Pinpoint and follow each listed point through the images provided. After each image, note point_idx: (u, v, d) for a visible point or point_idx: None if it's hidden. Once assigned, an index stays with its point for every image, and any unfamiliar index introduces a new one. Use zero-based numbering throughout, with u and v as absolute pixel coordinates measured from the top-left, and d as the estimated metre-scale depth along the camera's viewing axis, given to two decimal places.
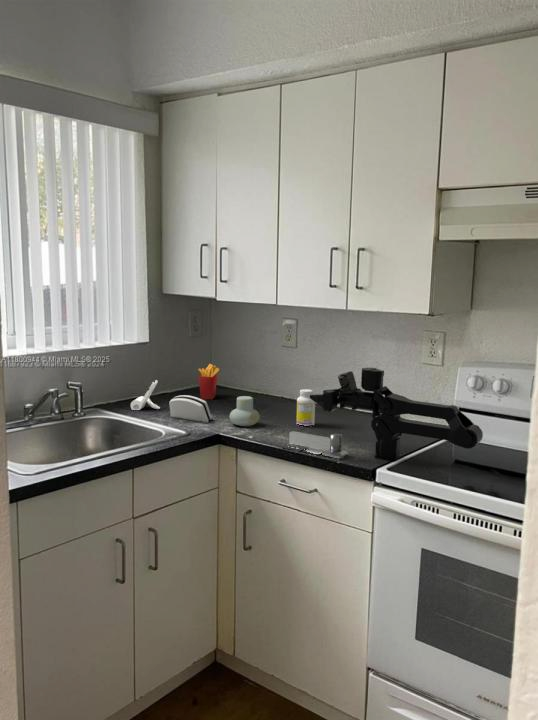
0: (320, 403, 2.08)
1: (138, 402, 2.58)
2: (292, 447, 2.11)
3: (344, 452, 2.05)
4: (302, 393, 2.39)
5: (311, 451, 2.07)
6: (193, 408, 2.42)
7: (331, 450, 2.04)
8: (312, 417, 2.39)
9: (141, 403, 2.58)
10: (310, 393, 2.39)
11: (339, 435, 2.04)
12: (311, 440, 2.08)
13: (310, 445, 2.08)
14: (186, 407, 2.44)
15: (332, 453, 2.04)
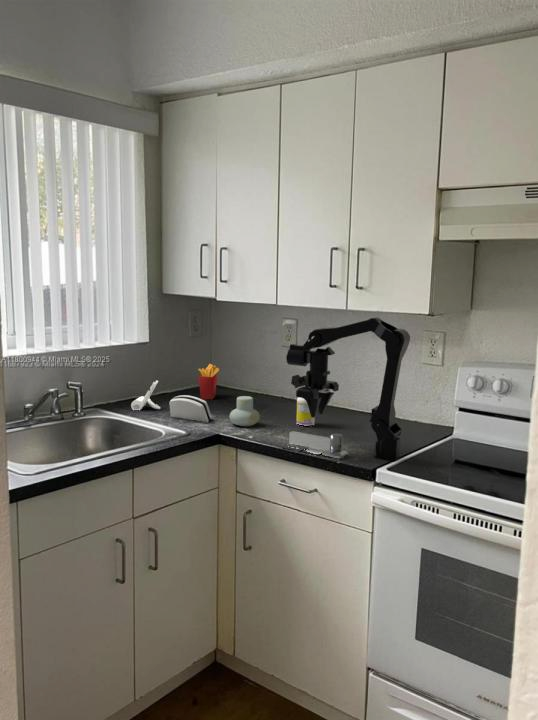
0: (315, 404, 2.09)
1: (139, 402, 2.58)
2: (292, 447, 2.11)
3: (344, 452, 2.05)
4: None
5: (311, 451, 2.07)
6: (194, 408, 2.42)
7: (331, 450, 2.04)
8: (312, 417, 2.39)
9: (142, 403, 2.58)
10: None
11: (339, 435, 2.04)
12: (311, 440, 2.08)
13: (310, 445, 2.08)
14: (186, 407, 2.44)
15: (332, 453, 2.04)
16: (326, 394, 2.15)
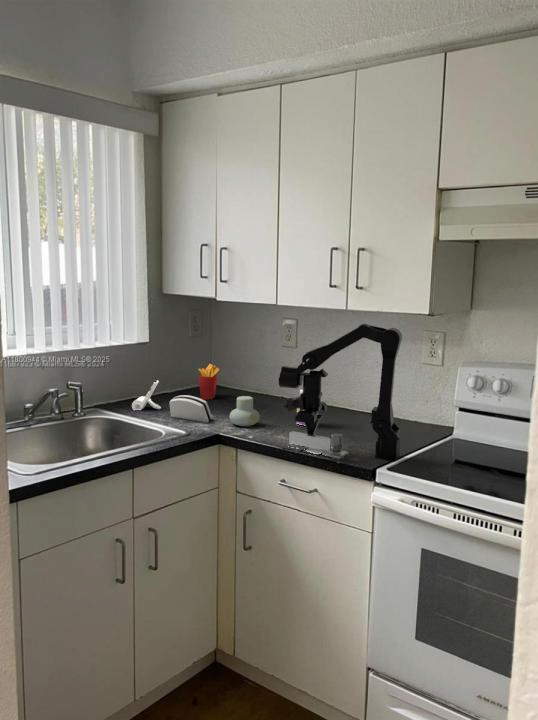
0: (313, 425, 2.09)
1: (139, 402, 2.58)
2: (292, 447, 2.11)
3: (344, 452, 2.05)
4: None
5: (311, 451, 2.07)
6: (194, 408, 2.42)
7: (331, 450, 2.04)
8: None
9: (142, 403, 2.58)
10: None
11: (339, 435, 2.04)
12: (311, 440, 2.08)
13: (310, 445, 2.08)
14: (186, 407, 2.44)
15: (332, 453, 2.04)
16: None
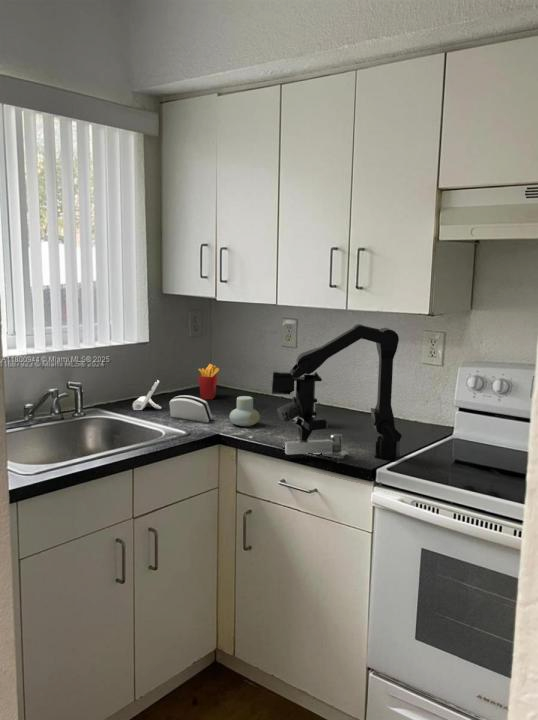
0: (310, 430, 2.02)
1: (140, 402, 2.58)
2: None
3: (344, 452, 2.05)
4: None
5: None
6: (194, 408, 2.42)
7: (335, 451, 2.03)
8: None
9: (143, 403, 2.58)
10: None
11: (338, 435, 2.05)
12: (312, 446, 2.02)
13: (311, 451, 2.02)
14: (187, 407, 2.44)
15: (332, 453, 2.04)
16: None
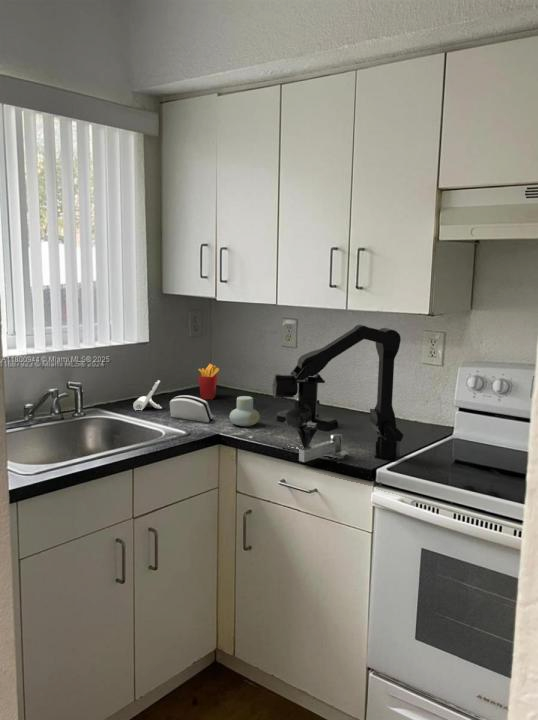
0: (313, 433, 1.99)
1: (141, 402, 2.58)
2: (292, 447, 2.11)
3: (344, 452, 2.05)
4: None
5: None
6: (194, 408, 2.42)
7: (338, 451, 2.03)
8: None
9: (144, 403, 2.58)
10: None
11: (337, 434, 2.05)
12: (321, 449, 1.98)
13: (321, 455, 1.98)
14: (187, 407, 2.44)
15: (332, 453, 2.04)
16: (307, 425, 2.00)
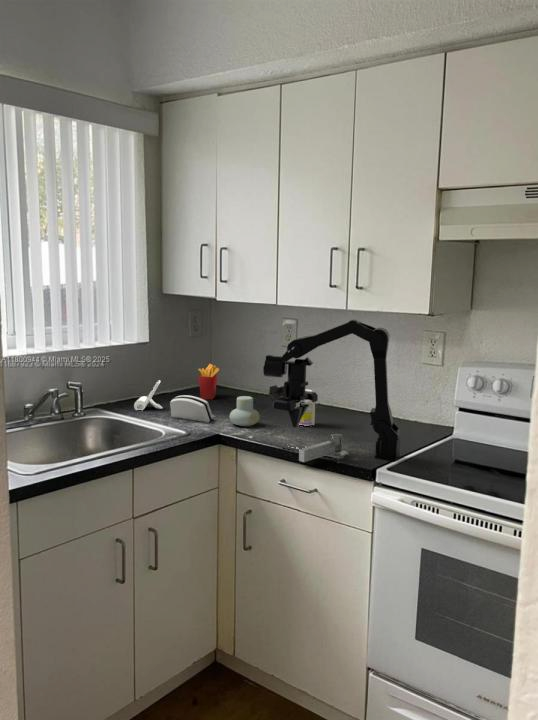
0: (296, 414, 2.08)
1: (142, 402, 2.58)
2: (292, 447, 2.11)
3: (344, 452, 2.05)
4: None
5: None
6: (195, 408, 2.42)
7: (338, 451, 2.03)
8: (312, 417, 2.39)
9: (145, 403, 2.58)
10: None
11: (337, 434, 2.05)
12: (321, 449, 1.98)
13: (321, 455, 1.98)
14: (187, 407, 2.44)
15: (332, 453, 2.04)
16: (301, 406, 2.09)
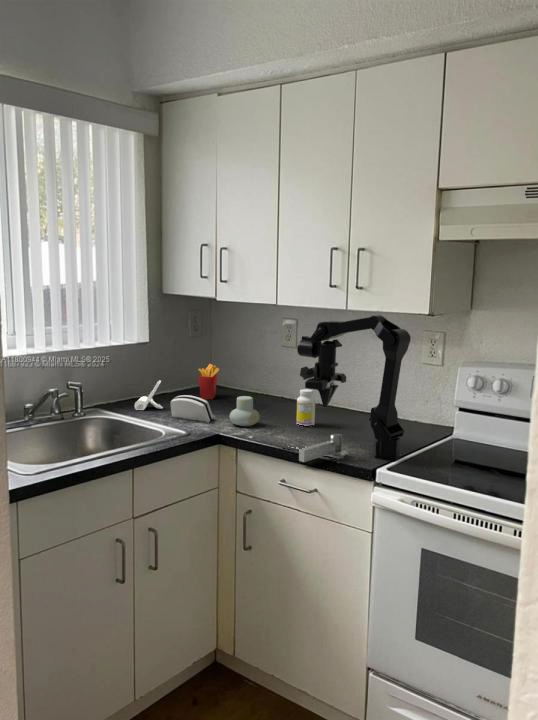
0: (327, 394, 2.16)
1: (142, 402, 2.58)
2: (292, 447, 2.11)
3: (344, 452, 2.05)
4: (302, 393, 2.39)
5: None
6: (195, 408, 2.42)
7: (338, 451, 2.03)
8: (312, 417, 2.39)
9: (145, 403, 2.58)
10: (310, 393, 2.39)
11: (337, 434, 2.05)
12: (321, 449, 1.98)
13: (321, 455, 1.98)
14: (188, 407, 2.44)
15: (332, 453, 2.04)
16: (331, 387, 2.17)
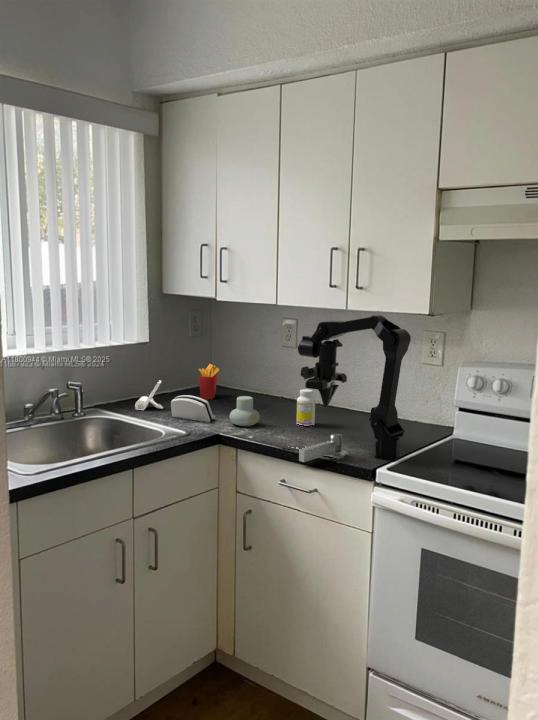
0: (327, 394, 2.16)
1: (143, 402, 2.58)
2: (292, 447, 2.11)
3: (344, 452, 2.05)
4: (302, 393, 2.39)
5: None
6: (195, 408, 2.43)
7: (338, 451, 2.03)
8: (312, 417, 2.39)
9: (146, 403, 2.58)
10: (310, 393, 2.39)
11: (337, 434, 2.05)
12: (321, 449, 1.98)
13: (321, 455, 1.98)
14: (188, 407, 2.44)
15: (332, 453, 2.04)
16: (331, 386, 2.17)
